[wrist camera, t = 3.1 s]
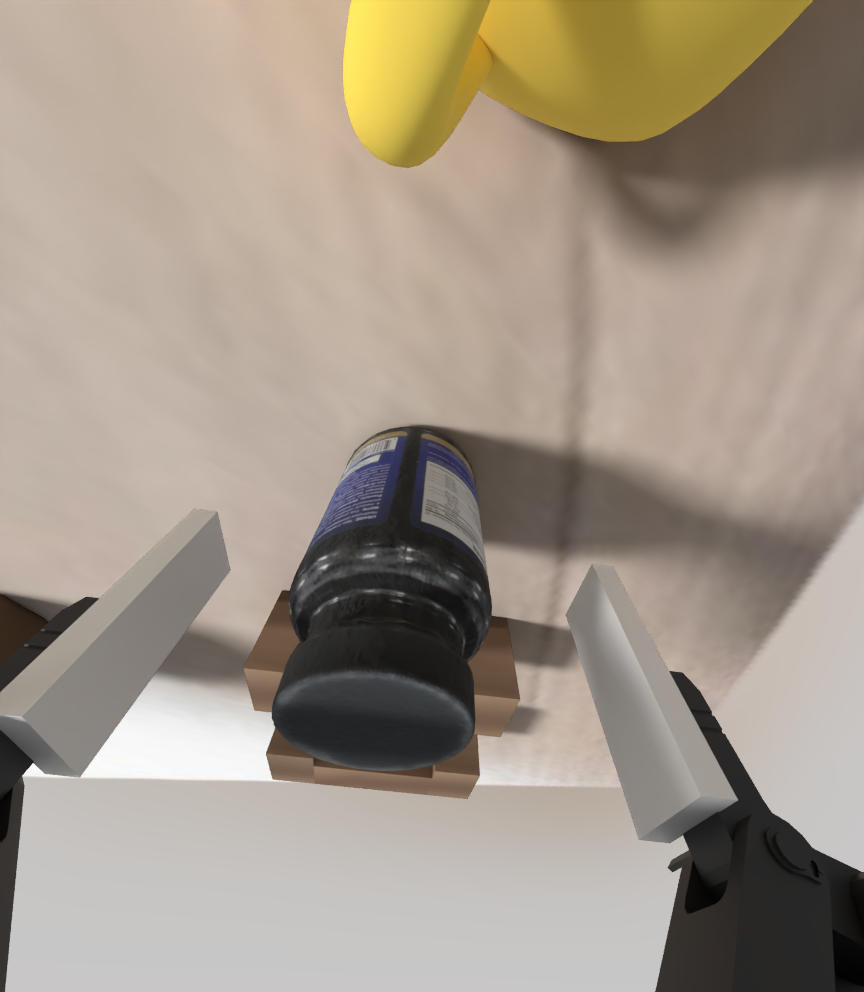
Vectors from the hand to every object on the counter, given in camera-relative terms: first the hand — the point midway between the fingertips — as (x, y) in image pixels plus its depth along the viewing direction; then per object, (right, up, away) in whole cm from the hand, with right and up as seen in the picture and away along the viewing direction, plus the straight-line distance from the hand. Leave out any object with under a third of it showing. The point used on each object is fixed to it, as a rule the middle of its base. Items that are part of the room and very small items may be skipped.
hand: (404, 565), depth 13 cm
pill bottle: (0, +3, +5) cm, 6 cm away
